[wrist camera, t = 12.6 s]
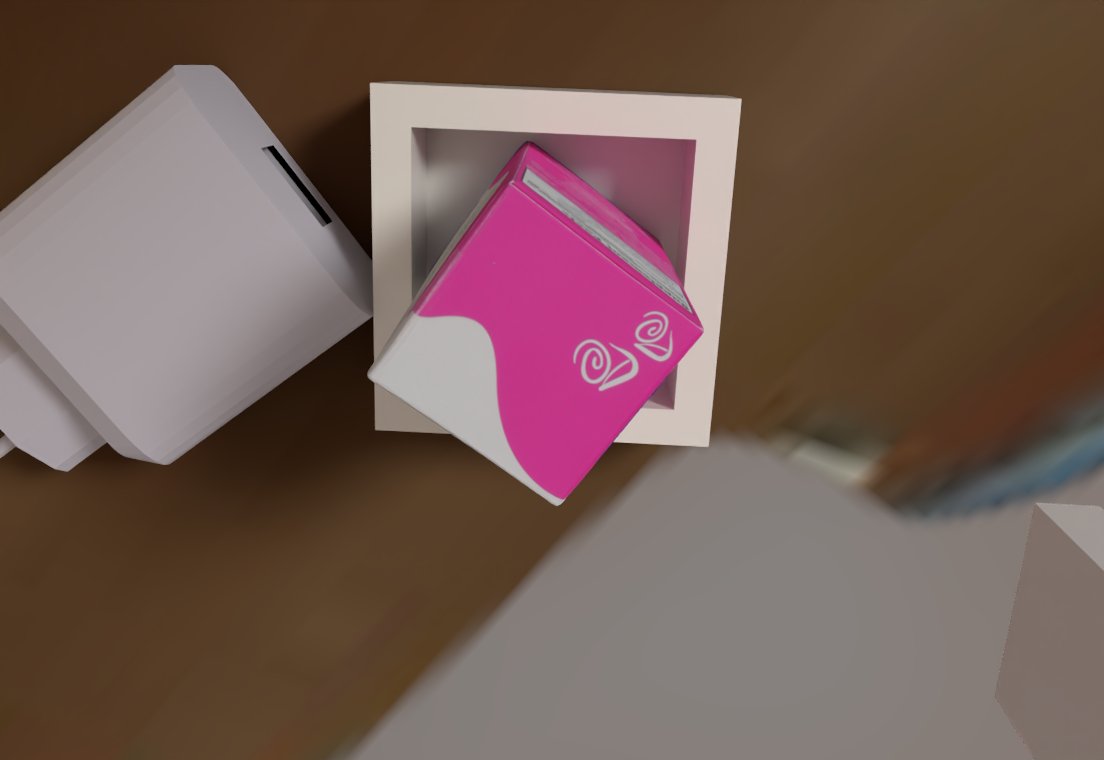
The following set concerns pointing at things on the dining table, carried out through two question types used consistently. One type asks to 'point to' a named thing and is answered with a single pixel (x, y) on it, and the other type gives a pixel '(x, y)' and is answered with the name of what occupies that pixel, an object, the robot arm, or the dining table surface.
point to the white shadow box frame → (594, 156)
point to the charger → (166, 279)
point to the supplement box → (540, 326)
